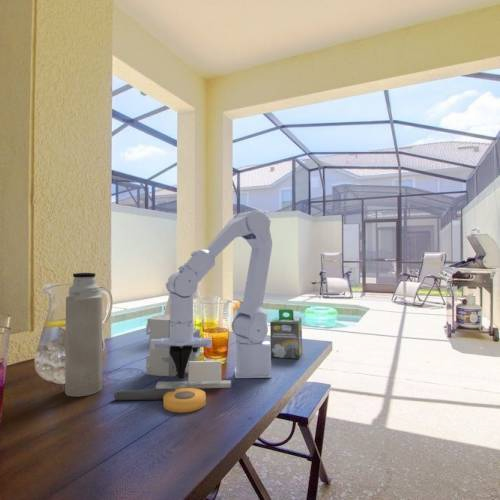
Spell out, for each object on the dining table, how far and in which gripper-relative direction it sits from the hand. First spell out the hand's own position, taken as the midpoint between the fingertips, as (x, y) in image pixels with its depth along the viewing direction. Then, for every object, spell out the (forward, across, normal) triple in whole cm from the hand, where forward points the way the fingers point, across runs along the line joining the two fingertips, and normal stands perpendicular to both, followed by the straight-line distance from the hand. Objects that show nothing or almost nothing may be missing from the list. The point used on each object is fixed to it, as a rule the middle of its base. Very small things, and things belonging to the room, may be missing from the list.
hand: (181, 377), depth 91 cm
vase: (+3, -6, +56) cm, 56 cm away
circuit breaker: (+3, -3, +12) cm, 13 cm away
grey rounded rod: (+2, -7, -8) cm, 10 cm away
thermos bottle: (+2, -23, -1) cm, 23 cm away
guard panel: (+1, +6, 0) cm, 6 cm away
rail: (+2, +3, 0) cm, 4 cm away
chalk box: (+3, +30, +28) cm, 41 cm away
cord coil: (+2, +2, -10) cm, 11 cm away
